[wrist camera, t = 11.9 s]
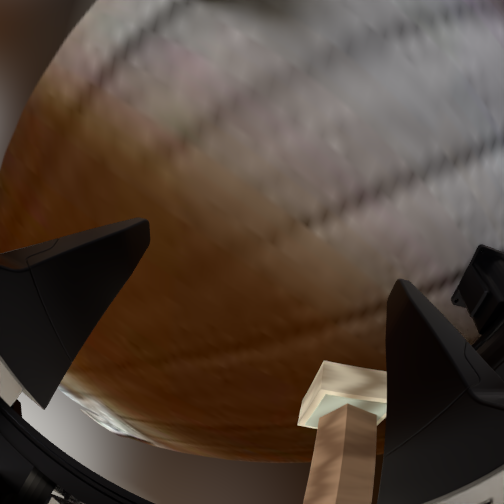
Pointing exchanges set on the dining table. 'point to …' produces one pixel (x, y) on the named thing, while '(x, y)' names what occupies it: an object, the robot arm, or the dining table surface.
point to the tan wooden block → (343, 458)
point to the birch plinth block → (344, 392)
